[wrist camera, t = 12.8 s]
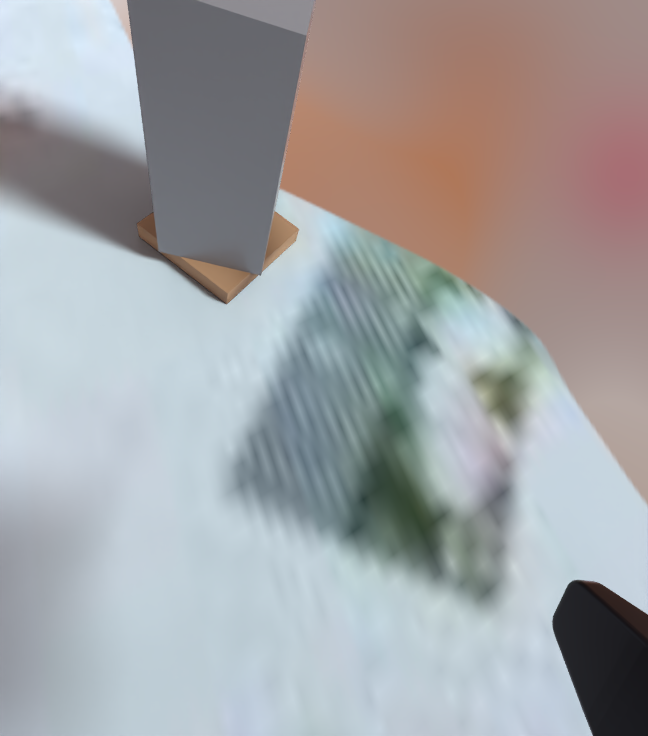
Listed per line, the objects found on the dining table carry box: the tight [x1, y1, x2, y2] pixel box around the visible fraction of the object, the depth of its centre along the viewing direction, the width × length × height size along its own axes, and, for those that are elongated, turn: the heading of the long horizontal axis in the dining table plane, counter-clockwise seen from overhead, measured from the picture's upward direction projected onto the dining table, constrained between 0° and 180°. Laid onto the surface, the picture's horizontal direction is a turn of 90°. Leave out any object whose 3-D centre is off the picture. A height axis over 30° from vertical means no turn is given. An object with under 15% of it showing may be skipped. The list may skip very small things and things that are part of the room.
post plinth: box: [137, 212, 299, 304], centre depth 24 cm, size 6×6×6 cm
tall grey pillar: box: [127, 0, 316, 275], centre depth 20 cm, size 5×5×12 cm
